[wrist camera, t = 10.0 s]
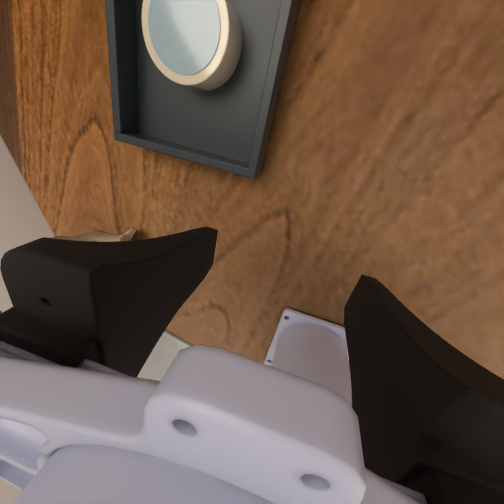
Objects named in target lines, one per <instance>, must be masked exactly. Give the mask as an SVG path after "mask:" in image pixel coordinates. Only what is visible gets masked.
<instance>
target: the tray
mask: <svg viewBox="0 0 504 504" xmlns="http://www.w3.org/2000/svg"><path fill="white" fill-rule="evenodd" d="M300 1H301V0H231V2H232V3H233V5H234V7H235V9H236V11H237V14H238V17H239V20H240V24H241V30H242V49H241V54H240V59H239V62H238V64H237V67H236V69H235V71H234V73H233V74H232V76H231V77H230V78H229V79H228V80H227V81H226V82H225V83H224V84H223V85H222V86H220V87H218V88H216V89H213V90H209V91H201V90H197V89H194V88H190V87H187V86H184V85H181V84H178V83H175V82H173V81H172V80H170V79H169V78H167V77H166V76H165V75H164V74H163V73H162V72H161V71H160V70H159V69H158V68H157V66H156V65H155V63H154V62H153V60H152V58H151V56H150V54H149V52H148V50H147V47H146V44H145V40H144V36H143V30H142V5H143V0H105V4H106V19H107V34H108V49H109V64H110V79H111V94H112V109H113V124H114V131H115V132H114V139H115V140H117V141H121V142H124V143H128V144H131V145H135V146H138V147H142V148H146V149H149V150H153V151H156V152H160V153H163V154H167V155H171V156H174V157H178V158H181V159H185V160H188V161H192V162H196V163H199V164H203V165H206V166H210V167H213V168H217V169H220V170H224V171H228V172H231V173H235V174H238V175H242V176H245V177H249V178H253V179H254V178H256V177H257V176H258V175H259V174H261V172H262V168H263V164H264V159H265V155H266V150H267V146H268V142H269V137H270V133H271V128H272V124H273V120H274V115H275V111H276V106H277V102H278V98H279V93H280V89H281V84H282V80H283V76H284V71H285V67H286V62H287V58H288V53H289V49H290V45H291V40H292V36H293V31H294V27H295V23H296V18H297V14H298V9H299V5H300Z"/></svg>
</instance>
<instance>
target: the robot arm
mask: <svg viewBox="0 0 504 504" xmlns="http://www.w3.org/2000/svg"><path fill="white" fill-rule="evenodd" d="M217 233H218V230H216V229H213V228H209V227H201V228H197V229H193V230H189V231H185V232H181V233H177V234H172V235H168V236H163V237H158V238H152V239H144V240H135V241H115V242H96V241H75V240H65V239H54V238H45V237H44V238H40V239H37V240H35V241H32V242H30V243H27V244H24V245H22V246H19V247H16V248H14V249H11V250H9V251H8V252H6V253H5V254H4V256H3V257H2V259H1V273H2V276H3V280H4V282H5V285H6V288H7V290H8V293H9V296H10V299H11V301H12V304H13V306H14V307H12V308H10V309H9V310H7V311H5V312H3V313H2V312H1V311H0V478H1V479H3V480H4V481H6V482H8V483H9V484H11V485H13V486H15V487H16V488H18V489H20V490H21V491H22V492H21V493H20V494H19V496H18V497H17V498H16V499H15V501H14V502H13V503H12V504H504V380H503V379H502V378H500V377H498V376H497V375H495V374H493V373H492V372H490V371H489V370H487V369H485V368H484V367H482V366H481V365H479V364H478V363H476V362H475V361H473V360H472V359H470V358H469V357H467V356H466V355H464V354H463V353H461V352H460V351H459V350H457V349H456V348H454V347H453V346H452V345H450V344H449V343H448V342H446V341H445V340H444V339H442V338H441V337H440V336H439V335H437V334H436V333H435V332H433V331H432V330H431V329H430V328H429V327H427V326H426V325H425V324H424V323H423V322H422V321H420V320H419V319H418V318H417V317H416V316H415V315H414V314H413V313H412V312H410V311H409V310H408V309H407V308H406V307H405V306H404V305H403V304H402V303H401V302H400V301H399V300H398V299H397V298H396V297H395V296H394V295H393V294H392V293H391V292H390V291H389V290H388V289H387V288H386V287H385V286H384V285H383V284H381V283H380V282H379V281H378V280H377V279H375V278H372V277H369V276H366V275H361V277H360V279H359V281H358V283H357V285H356V286H355V288H354V290H353V292H352V294H351V296H350V298H349V300H348V301H347V303H346V305H345V309H344V327H342V326H339V325H337V324H334V323H331V322H328V321H325V320H322V319H319V318H316V317H313V316H310V315H307V314H304V313H301V312H298V311H295V310H292V309H289V308H287V309H284V311H283V314H282V316H281V319H280V321H279V324H278V327H277V329H276V332H275V335H274V337H273V340H272V343H271V345H270V348H269V351H268V353H267V356H266V359H265V361H264V364H263V363H261V362H258V361H255V360H253V359H250V358H247V357H244V356H242V355H239V354H236V353H234V352H231V351H228V350H225V349H223V348H219V347H213V346H207V345H201V344H200V345H194V346H191V347H188V348H185V349H182V350H180V351H179V353H178V355H177V356H176V358H175V359H174V361H173V362H172V364H171V366H170V367H169V369H168V370H167V372H166V373H165V375H164V377H163V378H162V380H161V381H156V380H149V379H143V378H137V376H138V374H139V372H140V370H141V369H142V367H143V365H144V363H145V362H146V360H147V358H148V357H149V355H150V353H151V352H152V350H153V348H154V347H155V345H156V343H157V342H158V340H159V338H160V337H161V335H162V334H163V332H164V330H165V329H166V327H167V326H168V324H169V323H170V321H171V320H172V318H173V317H174V315H175V314H176V312H177V311H178V310H179V308H180V307H181V306H182V305H183V304H184V302H185V301H186V300H187V299H188V298H189V296H190V295H191V294H192V293H193V292H194V290H195V289H196V288H197V287H198V285H199V284H200V283H201V282H202V281H203V279H204V278H205V276H206V275H207V273H208V271H209V270H210V268H211V266H212V265H213V259H214V253H215V246H216V240H217ZM285 316H288V318H287V317H285ZM348 362H349V363H350V371H351V379H350V371H349V363H348Z"/></svg>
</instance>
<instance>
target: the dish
mask: <svg viewBox="0 0 504 504" xmlns="http://www.w3.org/2000/svg"><path fill="white" fill-rule="evenodd" d="M142 30H143V36H144V40H145V44H146V47H147V50H148V52H149V54H150V56H151V58H152V60H153V62H154V63H155V65H156V66H157V68H158V69H159V70H160V71H161V72H162V73H163V74H164V75H165V76H166V77H167V78H169V79H170V80H172V81H173V82H175V83H178V84H181V85H184V86H187V87H190V88H194V89H197V90H201V91H209V90H213V89H216V88H218V87H220V86H222V85H223V84H224V83H225V82H226V81H227V80H228V79H229V78H230V77H231V76H232V74H233V73H234V71H235V69H236V67H237V64H238V62H239V59H240V54H241V49H242V30H241V24H240V20H239V17H238V14H237V11H236V9H235V7H234V5H233V3H232V2H231V0H143V5H142Z"/></svg>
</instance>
